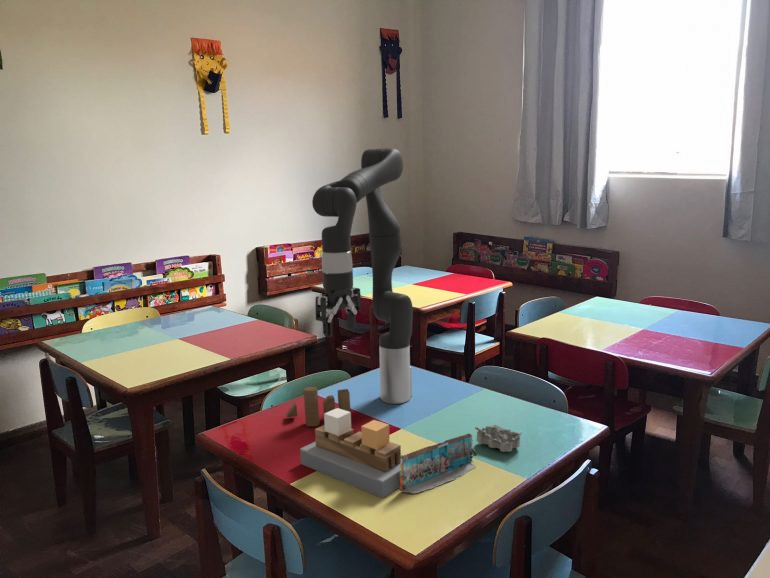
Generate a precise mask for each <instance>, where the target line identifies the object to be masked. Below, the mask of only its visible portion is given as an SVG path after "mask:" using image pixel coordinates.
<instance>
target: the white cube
mask: <svg viewBox="0 0 770 578" xmlns="http://www.w3.org/2000/svg"><path fill="white" fill-rule="evenodd" d="M323 419H324V425H325V431H326V432H328V433H331V434H334V435H337V436H340V435H342V434H344V433H346V432H348V431H350V430H351V429H352V413H351V411H350V412H349V411H345V410H342V409H339V407H335V409H334V410H331V411H329V412H327V413H325V414H324V413H323Z"/></svg>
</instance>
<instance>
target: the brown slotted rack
mask: <svg viewBox="0 0 770 578" xmlns="http://www.w3.org/2000/svg"><path fill="white" fill-rule="evenodd" d="M314 433H315V434H314V435H315V437H314V438H315V441H316V446H317V447H320V448H322V449H325V450H328V451H330V452H333V453H335V454H338V455H341V456H343V457H346V458H348V459H351V460H354V461H356V462H359V463H362V464H364V465H367V466H369V467H372V468H375V469H377V470H380V471H382V472H387V471H389V468H391V469H392V468H394V467H395V464H396V465H399V464H400V463H401V462H400V461H401V455H402V453H401V448H402V447H401V446H402V445H401V444H398V443H395V442H392V441H389V443H388V444H387V445H385V446H383V447H381V448H380V449H378V450H376V449H373V448H370V447H367V446H364V445H362V432H361V431H360V430H359V431H357V432H356V433H354V428H351V430H350V431H348V432H346V433H344V434H342V435H340V436H337V435H334V434H331V433H328V432H326V431H325V424H323V425H321V426H319V427H317V428H315V429H314ZM399 462H400V463H399Z"/></svg>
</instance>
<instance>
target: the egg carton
mask: <svg viewBox="0 0 770 578" xmlns="http://www.w3.org/2000/svg"><path fill="white" fill-rule="evenodd" d="M474 429H475V430H476V442H477V443H478V444H479V445H488V447H489V448H492V449H496V448H497V449H499V451H500V452H512V451H513V449H514V448H519V447H520V443H521V442H520V441H521V436H522V434H523V432H517V431H512V429H506V428H503V427H501V426H499V425H497V424H492V425H489V426H488V425H487V426H486V427H485V428H484V427H482V429H481V428H479V427H478V426H475V428H474Z"/></svg>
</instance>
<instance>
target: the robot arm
mask: <svg viewBox="0 0 770 578" xmlns="http://www.w3.org/2000/svg"><path fill="white" fill-rule="evenodd" d="M403 171H404V159H403V156H402V154H401V152H400V151H399V150H398V149H396V148H392V147H386V148H385V147H384V148H382V147H381V148H367V149H365V150H364V151H363V153H362V155H361V159H360V168H359V169H357V170H354V171H352V172H349V173H348V174H347V175H345V176H344V177H342V178H341V179H340V180H337V181H334V182H331V183H328V184H325V185H323V186H321V187H319V188H318V189H317V190H316V191H315V192H314V194H313V195H312V196H313V197H312V201H311V203H312V204H311V205H312V208H313V210H314V212H315V213H316V214H317V215H318V216H321V217H328V218H329V217H333V218H337V221H336V224H335V225H331V226H327V227H324V228H323V229H322V231H321V249H322V251H321V253H322V255H321V273H322V274H321V276H322V287H323V289H324V291H325V295H323V296H318V295H317V296H316V297H315V320H316V321H318V322H321V323H322V333H323V335H324V337H325V338H332V337H333V322H332V320H333V318H334V316H335V315H337V313H338V311H341V310H345V312H346V313H347V314H346V324H347V325H346V327H347V328H348V329H349V330H355V329H356V326H357V317H356V316H357V313H358V311H359V312H360V311H362V297H361V296H362V295H361V288H359V287H354V274H353V273H354V269H353V256H352V244H351V243H352V242H351V235H352V234H351V233H352V229H353V228H352V226H353V223H354V217H355V214H356V209H357V203H359V202H360V201H362V199H363V198H365V200H366V208H367V218H368V219H367V220H368V234H369V235H368V237H369V245H370V246H369V247H370V253H371V254H370V256H371V269H372V270H371V271H372V299H371V301H372V313H373V314H374V316H375V318H376V319H377V320H379V321H381V322H385V323H387V324H388V323H389V331H388V332H384V333H381V334H380V336H379V338H378V344H379V345H378V346H379V348H378V350H379V351H378V352H379V353H378V354H379V389H380V390H379V393H380V394H379V397H380V401H381V402H384V403H387V404H392V405H393V404H403V403H404V404H405V403H406V402H409V401H410V400H411V397H412V396H413V384H412V383H413V381H412V380H413V379H412V378H413V375H412V374H413V371H412V370H413V369H412V366H411V355H410V353H411V352H410V350H411V349H410V348H411V347H410V341H411V337H412V333H413V317H414V316H413V314H414V312H413V311H414V310H413V309H414V308H413V302H412V299H411V297H410V296H408V295H407V294H405V293H400V292H394V291H393V281H392V277H393V272H394V269H395V267H396V264H397V262H398V260H399V258H400V256H401V253H402V248H403V247H402V246H403V245H402V233H401V231H402V230H401V225H400V223H399V221H398V220H397V218H396V216H395V215H394V213H393V212H392V210H391V209H390V207H389V206H388V205H387V203H386V202H385V200H384V197H383V194H382V191H381V187H382V186H384V185H387V184H389V183H391V182H394V181H396V180H398V179H400V177H401V176H402V174H403Z"/></svg>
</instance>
